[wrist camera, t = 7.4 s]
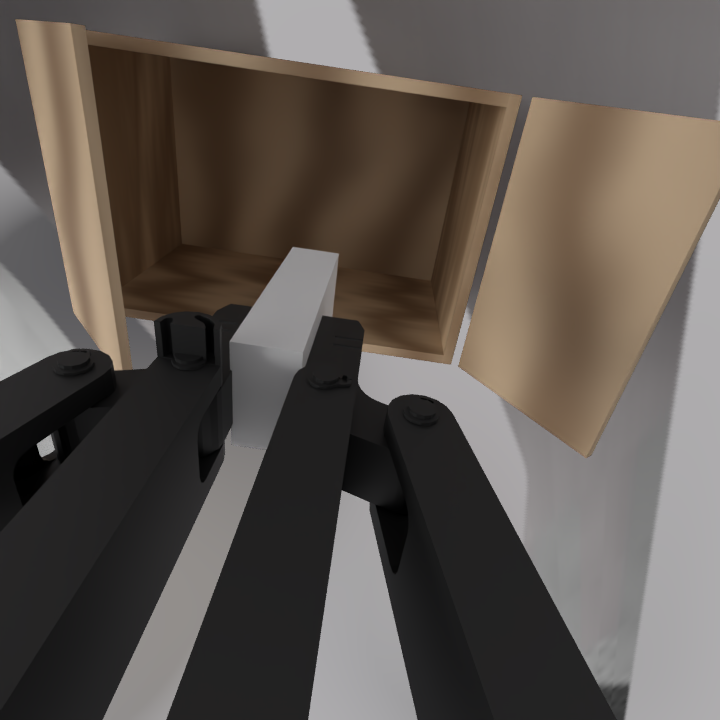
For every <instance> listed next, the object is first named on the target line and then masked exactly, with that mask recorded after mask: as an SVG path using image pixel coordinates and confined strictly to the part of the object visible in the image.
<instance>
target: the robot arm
mask: <svg viewBox="0 0 720 720" xmlns="http://www.w3.org/2000/svg"><path fill="white" fill-rule="evenodd" d="M338 258H339V254H338V253H331V252H324V251H318V250H311V249H304V248H297V247H293V248H292V249H291V251H290V252H289V254H288V255H287V257H286V258H285V260H284V261H283V263H282V264H281V266H280V267H279V269H278V270H277V271H276V273H275V274H274V276H273V277H272V279H271V280H270V282H269V283H268V285H267V286H266V288H265V289H264V291H263V292H262V294H261V295H260V297H259V298H258V300H257V301H256V303H255V304H254V306H253V307H251V306H244V305H237V304H229V305H227V306H225V307H223V308H221V309H219V310H217V311H216V312H215V313H214V315H213V316H211V315H209V314H205V313H201V312H189V311H184V312H175V313H170V314H167V315H164V316H161V317H159V318H158V319H156V320H155V321H154V327H155V337H156V346H157V355H158V357H157V358H156V359H155V360H154V361H153V362H152V364H151V365H150V366H149V367H148V368H147V369H137V370H114V365H113V361H112V359H111V357H110V356H109V355H108V354H106V353H104V352H102V351H97V350H91V349H71V350H69V351H64V352H59V353H57V354H54V355H52V356H49V357H47V358H45V359H43V360H41V361H39V362H37V363H35V364H33V365H31V366H29V367H27V368H25V369H23V370H22V371H20V372H18V373H16V374H14V375H12V376H10V377H8V378H6V379H4V380H2V381H0V720H102V719H103V718H104V715H105V713H106V711H107V709H108V707H109V704H110V703H111V700H112V698H113V696H114V694H115V692H116V690H117V688H118V685H119V683H120V681H121V679H122V677H123V675H124V673H125V670H126V668H127V666H128V664H129V662H130V660H131V658H132V656H133V653H134V651H135V649H136V647H137V645H138V643H139V641H140V638H141V636H142V634H143V632H144V630H145V627H146V625H147V623H148V621H149V619H150V617H151V615H152V613H153V610H154V608H155V606H156V604H157V602H158V600H159V598H160V596H161V593H162V591H163V589H164V587H165V585H166V582H167V580H168V578H169V576H170V574H171V572H172V570H173V568H174V566H175V564H176V561H177V559H178V557H179V555H180V553H181V551H182V549H183V546H184V544H185V542H186V540H187V538H188V536H189V533H190V531H191V529H192V527H193V525H194V523H195V521H196V518H197V516H198V514H199V512H200V510H201V508H202V506H203V504H204V501H205V499H206V497H207V495H208V493H209V491H210V489H211V486H212V484H213V482H214V480H215V478H216V476H217V474H218V472H219V469H220V467H221V465H222V463H223V461H224V455H225V438H226V436H227V434H228V432H229V430H230V428H231V445H235V446H242V447H249V448H256V449H263V450H266V453H265V455H264V458H263V461H262V464H261V466H260V469H259V471H258V474H257V477H256V480H255V482H254V485H253V488H252V490H251V493H250V496H249V498H248V501H247V504H246V507H245V509H244V512H243V515H242V517H241V520H240V523H239V525H238V528H237V531H236V534H235V536H234V539H233V541H232V544H231V547H230V550H229V552H228V555H227V558H226V560H225V563H224V566H223V568H222V571H221V574H220V577H219V579H218V582H217V585H216V587H215V590H214V593H213V596H212V598H211V601H210V604H209V607H208V609H207V612H206V614H205V617H204V620H203V622H202V625H201V628H200V630H199V633H198V636H197V638H196V641H195V644H194V647H193V650H192V652H191V655H190V658H189V660H188V663H187V665H186V668H185V671H184V674H183V676H182V679H181V682H180V684H179V687H178V690H177V693H176V695H175V698H174V700H173V703H172V706H171V709H170V711H169V714H168V717H167V719H166V720H308V716H309V709H310V702H311V696H312V688H313V682H314V675H315V668H316V662H317V655H318V648H319V641H320V633H321V627H322V620H323V614H324V607H325V600H326V593H327V586H328V579H329V573H330V566H331V559H332V552H333V545H334V538H335V532H336V524H337V518H338V511H339V504H340V498H341V491H342V490H343V491H345V492H348V493H350V494H352V495H354V496H357V497H359V498H361V499H364V500H366V501H368V502H370V514H371V518H372V523H373V526H374V531H375V535H376V540H377V544H378V549H379V553H380V557H381V562H382V566H383V571H384V575H385V579H386V583H387V588H388V592H389V597H390V601H391V606H392V610H393V614H394V618H395V623H396V627H397V632H398V636H399V641H400V645H401V649H402V653H403V658H404V662H405V667H406V671H407V675H408V680H409V684H410V689H411V693H412V697H413V701H414V706H415V710H416V715H417V719H418V720H617V719H616V718H615V716H614V714H613V712H612V710H611V708H610V706H609V705H608V703H607V701H606V699H605V697H604V695H603V693H602V691H601V690H600V688H599V686H598V684H597V682H596V680H595V678H594V677H593V675H592V673H591V671H590V669H589V667H588V665H587V663H586V662H585V660H584V658H583V656H582V654H581V652H580V650H579V649H578V647H577V645H576V643H575V641H574V639H573V637H572V635H571V634H570V632H569V630H568V628H567V626H566V624H565V622H564V621H563V619H562V617H561V615H560V613H559V611H558V609H557V607H556V606H555V604H554V602H553V600H552V598H551V596H550V594H549V593H548V591H547V589H546V587H545V585H544V583H543V581H542V579H541V578H540V576H539V574H538V572H537V570H536V568H535V566H534V564H533V563H532V561H531V559H530V557H529V555H528V553H527V551H526V550H525V548H524V546H523V544H522V542H521V540H520V538H519V536H518V535H517V533H516V531H515V529H514V527H513V525H512V523H511V522H510V520H509V518H508V516H507V514H506V512H505V510H504V509H503V507H502V505H501V503H500V501H499V499H498V497H497V495H496V494H495V492H494V490H493V488H492V486H491V484H490V482H489V481H488V479H487V477H486V475H485V473H484V471H483V470H482V467H481V466H480V464H479V462H478V460H477V458H476V456H475V454H474V453H473V451H472V449H471V447H470V445H469V443H468V441H467V440H466V438H465V436H464V434H463V432H462V430H461V428H460V426H459V424H458V423H457V421H456V419H455V417H454V415H453V414H452V412H451V411H450V410H449V409H448V408H447V406H445V405H444V404H442V403H440V402H439V401H437V400H435V399H432V398H429V397H427V396H422V395H413V394H411V395H403V396H399V397H397V398H395V399H393V400H392V401H391V402H390V404H389V405H386V404H383V403H381V402H378V401H376V400H374V399H372V398H370V397H369V396H368V395H366V394H365V393H364V392H363V391H362V390H361V388H360V387H359V384H358V373H359V366H360V359H361V352H362V345H363V338H364V331H365V330H364V328H363V327H362V325H361V324H360V322H359V321H357V320H350V319H343V318H337V317H332V315H333V306H334V296H335V287H336V277H337V267H338ZM50 434H51V437H52V441H53V444H54V448H55V450H54V451H53V452H52V453H50V454H48V455H46V456H44V457H41V456H40V454H39V451H38V448H37V443H39V442H40V441H41V440H43V439H44V438H46V437H47V436H49V435H50Z"/></svg>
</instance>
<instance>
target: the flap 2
mask: <svg viewBox="0 0 720 720" xmlns="http://www.w3.org/2000/svg"><path fill="white" fill-rule="evenodd" d="M719 199H720V121H717V120H709V119H701V118H693V117H685V116H678V115H670V114H662V113H654V112H646V111H638V110H631V109H623V108H615V107H607V106H599V105H592V104H584V103H576V102H568V101H560V100H553V99H545V98H537V97H532V101H531V104H530V108H529V112H528V115H527V119H526V122H525V126H524V130H523V133H522V137H521V141H520V144H519V148H518V151H517V155H516V159H515V162H514V166H513V170H512V173H511V177H510V181H509V184H508V188H507V191H506V195H505V199H504V202H503V206H502V210H501V213H500V217H499V220H498V224H497V228H496V231H495V235H494V239H493V242H492V246H491V249H490V253H489V257H488V260H487V264H486V268H485V271H484V275H483V278H482V282H481V286H480V289H479V293H478V297H477V300H476V304H475V307H474V311H473V315H472V318H471V322H470V326H469V329H468V333H467V336H466V340H465V344H464V347H463V351H462V355H461V358H460V362H459V365H458V367H460V368H461V369H462V370H464V371H465V372H467V373H468V374H469V375H471V376H472V377H474V378H475V379H476V380H478V381H479V382H481V383H482V384H483V385H485V386H486V387H487V388H489V389H491V390H492V391H493V392H494V393H496V394H497V395H499V396H500V397H501V398H503V399H504V400H506V401H507V402H508V403H510V404H511V405H513V406H514V407H515V408H517V409H518V410H520V411H521V412H522V413H524V414H525V415H527V416H528V417H529V418H531V419H532V420H533V421H535V422H536V423H538V424H539V425H540V426H542V427H543V428H545V429H546V430H547V431H549V432H550V433H552V434H553V435H554V436H556V437H557V438H559V439H560V440H561V441H563V442H564V443H566V444H567V445H568V446H570V447H571V448H573V449H574V450H575V451H577V452H578V453H579V454H581V455H582V456H584V457H585V458H587V457H589V456H591V455H592V453H593V451H594V449H595V447H596V445H597V443H598V441H599V439H600V437H601V435H602V433H603V431H604V429H605V427H606V425H607V423H608V421H609V419H610V417H611V415H612V413H613V411H614V409H615V407H616V405H617V403H618V401H619V399H620V397H621V395H622V393H623V391H624V389H625V387H626V385H627V383H628V381H629V379H630V377H631V375H632V373H633V371H634V369H635V367H636V365H637V363H638V361H639V359H640V357H641V355H642V353H643V351H644V349H645V347H646V345H647V343H648V341H649V339H650V337H651V335H652V333H653V331H654V329H655V327H656V325H657V323H658V321H659V319H660V317H661V315H662V313H663V311H664V309H665V307H666V305H667V303H668V301H669V299H670V297H671V295H672V293H673V291H674V289H675V287H676V285H677V283H678V281H679V279H680V277H681V275H682V273H683V271H684V269H685V267H686V265H687V263H688V261H689V259H690V257H691V255H692V253H693V251H694V249H695V247H696V245H697V243H698V241H699V239H700V237H701V235H702V233H703V231H704V229H705V227H706V225H707V223H708V221H709V219H710V217H711V215H712V213H713V211H714V209H715V207H716V205H717V203H718V201H719Z"/></svg>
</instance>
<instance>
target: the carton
mask: <svg viewBox="0 0 720 720" xmlns="http://www.w3.org/2000/svg"><path fill="white" fill-rule="evenodd" d="M86 36H87V43H88V51H89V58H90V65H91V72H92V80H93V87H94V94H95V101H96V109H97V116H98V123H99V130H100V137H101V145H102V152H103V159H104V166H105V174H106V181H107V188H108V195H109V203H110V210H111V217H112V224H113V232H114V239H115V246H116V253H117V261H118V268H119V275H120V282H121V289H122V297H123V304H124V311H125V317H132V318H139V319H145V320H152V321H155V320H156V319H158V318H159V317H161V316H164V315H167V314H170V313H175V312H184V311H189V312H201V313H205V314H209V315H211V316H213V315H214V313H215V312H216V311H217V310H219V309H221V308H223V307H225V306H227V305H229V304H237V305H244V306H251V307H253V306H254V304H255V303H256V301H257V300H258V298H259V297H260V295H261V294H262V292H263V291H264V289H265V288H266V286H267V285H268V283H269V282H270V280H271V279H272V277H273V276H274V274H275V273H276V271H277V270H278V269H279V267H280V266H281V264H282V263H283V261H284V260H285V258H286V257H287V255H288V254H289V252H290V251H291V249H292V248H293V247H297V248H304V249H311V250H318V251H324V252H331V253H338V254H339V258H338V267H337V277H336V287H335V296H334V306H333V315H332V317H337V318H343V319H350V320H357V321H359V322H360V324H361V325H362V327H363V328H364V330H365V331H364V338H363V345H362V351H363V352H369V353H376V354H384V355H390V356H396V357H403V358H411V359H417V360H424V361H431V362H437V363H444V364H451V362H452V358H453V354H454V350H455V347H456V343H457V339H458V336H459V332H460V328H461V324H462V320H463V317H464V313H465V309H466V305H467V302H468V298H469V294H470V290H471V287H472V283H473V279H474V275H475V272H476V268H477V264H478V260H479V257H480V253H481V249H482V245H483V242H484V238H485V234H486V230H487V226H488V223H489V219H490V215H491V211H492V208H493V204H494V200H495V196H496V193H497V189H498V185H499V181H500V178H501V174H502V170H503V166H504V162H505V159H506V155H507V151H508V147H509V144H510V140H511V136H512V132H513V129H514V125H515V121H516V117H517V114H518V110H519V106H520V102H521V99H522V95H516V94H509V93H503V92H496V91H489V90H483V89H476V88H469V87H463V86H456V85H449V84H443V83H436V82H429V81H423V80H416V79H409V78H403V77H396V76H389V75H383V74H376V73H369V72H363V71H356V70H349V69H342V68H336V67H329V66H322V65H316V64H309V63H302V62H295V61H289V60H282V59H276V58H269V57H263V56H256V55H249V54H243V53H236V52H229V51H223V50H216V49H209V48H203V47H196V46H189V45H183V44H176V43H169V42H163V41H156V40H149V39H143V38H136V37H129V36H123V35H116V34H109V33H103V32H96V31H89V30H86Z"/></svg>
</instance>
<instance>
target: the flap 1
mask: <svg viewBox="0 0 720 720" xmlns="http://www.w3.org/2000/svg"><path fill="white" fill-rule="evenodd" d="M15 20H16V25H17V30H18V35H19V40H20V45H21V50H22V55H23V60H24V65H25V70H26V75H27V80H28V85H29V90H30V95H31V100H32V105H33V110H34V115H35V120H36V125H37V130H38V135H39V140H40V145H41V151H42V156H43V161H44V166H45V171H46V176H47V181H48V186H49V191H50V196H51V201H52V206H53V211H54V216H55V221H56V226H57V231H58V236H59V241H60V246H61V251H62V256H63V261H64V266H65V271H66V276H67V281H68V286H69V291H70V296H71V301H72V307H73V312H74V314H75V315H76V316H77V318H78V319H79V321H80V322H81V323H82V325H83V326H84V328H85V329H86V331H87V332H88V333H89V335H90V336H91V338H92V339H93V340H94V342H95V343H96V344H97V346H98V348H99V349H100V350H101V351H102V352H104V353H106V354H108V355H109V356H110V357H111V359H112V361H113V365H114V370H133V369H132V362H131V355H130V347H129V340H128V333H127V326H126V318H125V311H124V304H123V297H122V289H121V282H120V275H119V268H118V261H117V253H116V246H115V239H114V232H113V224H112V217H111V210H110V203H109V195H108V188H107V181H106V174H105V166H104V159H103V152H102V145H101V137H100V130H99V123H98V116H97V109H96V101H95V94H94V87H93V80H92V72H91V65H90V58H89V51H88V43H87V36H86V29H85V26H84V25H78V24H72V23H61V22H47V21H33V20H19V19H15Z"/></svg>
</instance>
